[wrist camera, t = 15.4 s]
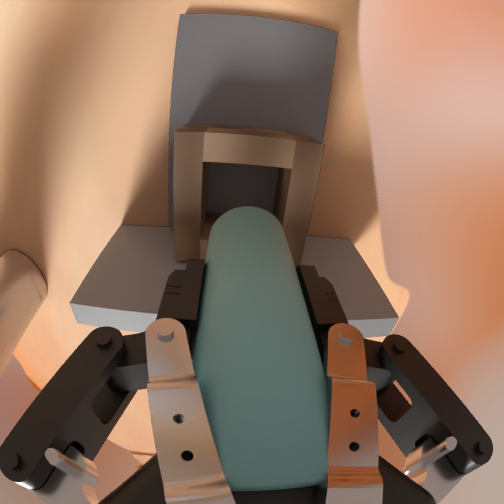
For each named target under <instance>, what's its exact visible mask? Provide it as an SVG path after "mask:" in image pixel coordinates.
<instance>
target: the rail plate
mask: <svg viewBox="0 0 504 504" xmlns="http://www.w3.org/2000/svg"><path fill="white" fill-rule="evenodd" d="M337 33H338V32H337V31H334V30H330V29H326V28H322V27H317V26H313V25H308V24H303V23H298V22H293V21H287V20H280V19H274V18H266V17H257V16H247V15H233V14H180V19H179V26H178V33H177V41H176V49H175V58H174V68H173V80H172V92H171V108H170V128H169V227H170V229H174V213H173V157H174V132H175V131H176V130H178V129H179V128H181V127H183V126H184V125H186V124H207V125H226V126H240V127H252V128H262V129H271V130H280V131H287V132H295V133H301V134H307V135H309V136H311V137H312V138H314V139H316V140H317V141H319V142H321V143H322V141H323V135H324V129H325V123H326V117H327V110H328V104H329V97H330V90H331V83H332V75H333V67H334V59H335V51H336V42H337ZM278 171H279V167H271V166H261V165H250V164H237V163H222V162H208V180H207V202H206V213H218V214H224V213H226V212H228V211H229V210H232V209H234V208H238V207H244V206H251V207H258V208H261V209H264V210H266V211H268V212H270V213H271V214H272V212H273V205H274V198H275V192H276V185H277V178H278Z"/></svg>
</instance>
